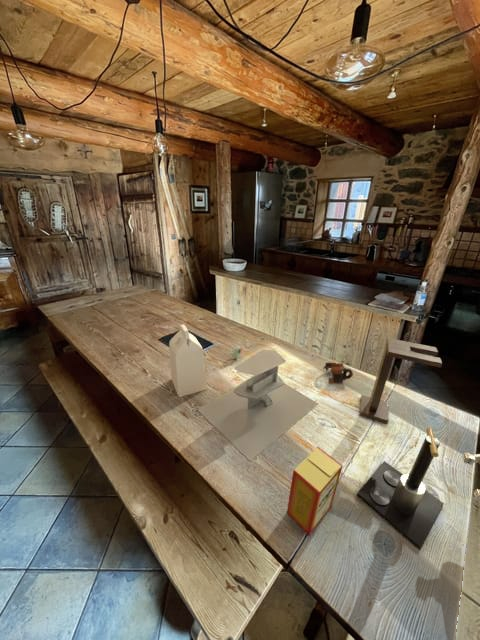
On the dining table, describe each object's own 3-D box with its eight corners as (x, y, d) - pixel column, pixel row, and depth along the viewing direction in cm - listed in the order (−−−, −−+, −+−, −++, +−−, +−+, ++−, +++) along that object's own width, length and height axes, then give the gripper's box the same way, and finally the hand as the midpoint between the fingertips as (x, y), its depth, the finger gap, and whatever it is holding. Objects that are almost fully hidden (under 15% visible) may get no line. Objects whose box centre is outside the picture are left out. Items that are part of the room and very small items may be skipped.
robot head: (236, 353, 130) (236, 341, 127) (243, 355, 129) (244, 343, 126) (228, 361, 124) (228, 349, 121) (236, 363, 122) (236, 351, 119)
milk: (207, 389, 106) (204, 331, 95) (178, 397, 102) (172, 338, 90) (197, 372, 116) (194, 318, 105) (171, 379, 111) (165, 323, 100)
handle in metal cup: (413, 495, 69) (444, 432, 59) (417, 523, 63) (451, 457, 53) (391, 487, 71) (417, 424, 61) (392, 512, 65) (421, 448, 55)
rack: (411, 412, 97) (436, 347, 85) (414, 432, 88) (442, 363, 77) (360, 397, 103) (377, 335, 91) (359, 415, 95) (377, 349, 83)
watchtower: (250, 461, 78) (252, 411, 69) (196, 409, 96) (193, 364, 88) (318, 403, 100) (326, 360, 91) (264, 370, 118) (266, 331, 110)
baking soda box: (308, 535, 61) (319, 492, 54) (286, 512, 65) (293, 469, 59) (331, 506, 67) (342, 464, 60) (309, 487, 71) (318, 445, 64)
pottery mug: (321, 382, 112) (321, 363, 112) (326, 380, 120) (326, 362, 121) (351, 385, 106) (351, 364, 106) (355, 382, 114) (354, 363, 115)
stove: (442, 505, 67) (444, 502, 67) (419, 549, 59) (421, 546, 58) (383, 463, 78) (384, 460, 77) (356, 495, 69) (357, 492, 69)
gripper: (577, 572, 46) (477, 531, 51) (524, 471, 62) (453, 448, 68) (599, 552, 43) (491, 512, 48) (538, 452, 60) (462, 430, 65)
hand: (469, 474), depth 58 cm, fingers open, 8 cm apart
